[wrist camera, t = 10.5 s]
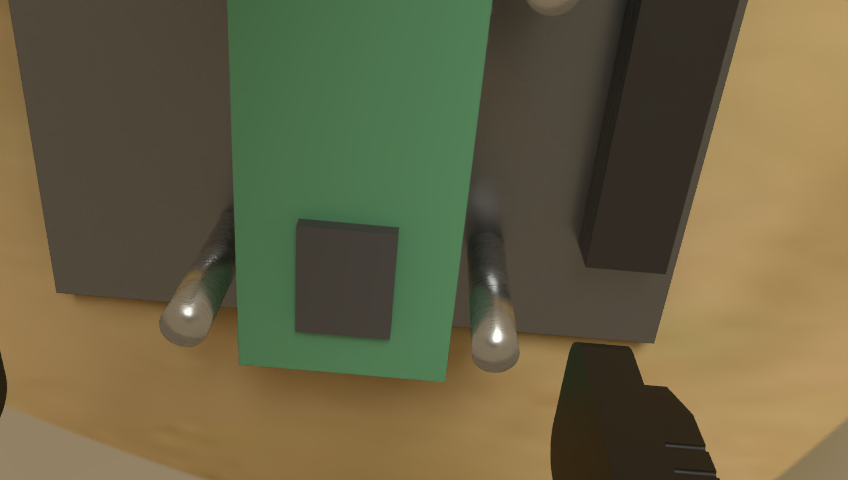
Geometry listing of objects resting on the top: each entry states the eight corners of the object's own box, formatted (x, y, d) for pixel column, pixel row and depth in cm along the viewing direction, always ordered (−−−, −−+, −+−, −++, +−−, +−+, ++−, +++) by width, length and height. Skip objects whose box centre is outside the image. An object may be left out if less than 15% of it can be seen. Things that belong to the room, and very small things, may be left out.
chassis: (-9, -234, 19) (-203, -263, 14) (775, -158, 20) (912, -156, 14) (69, 277, 26) (-36, 401, 21) (646, 326, 27) (702, 461, 21)
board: (256, -140, 17) (217, -136, 14) (496, -117, 18) (507, -108, 15) (262, 303, 23) (235, 373, 20) (444, 319, 23) (444, 391, 20)
